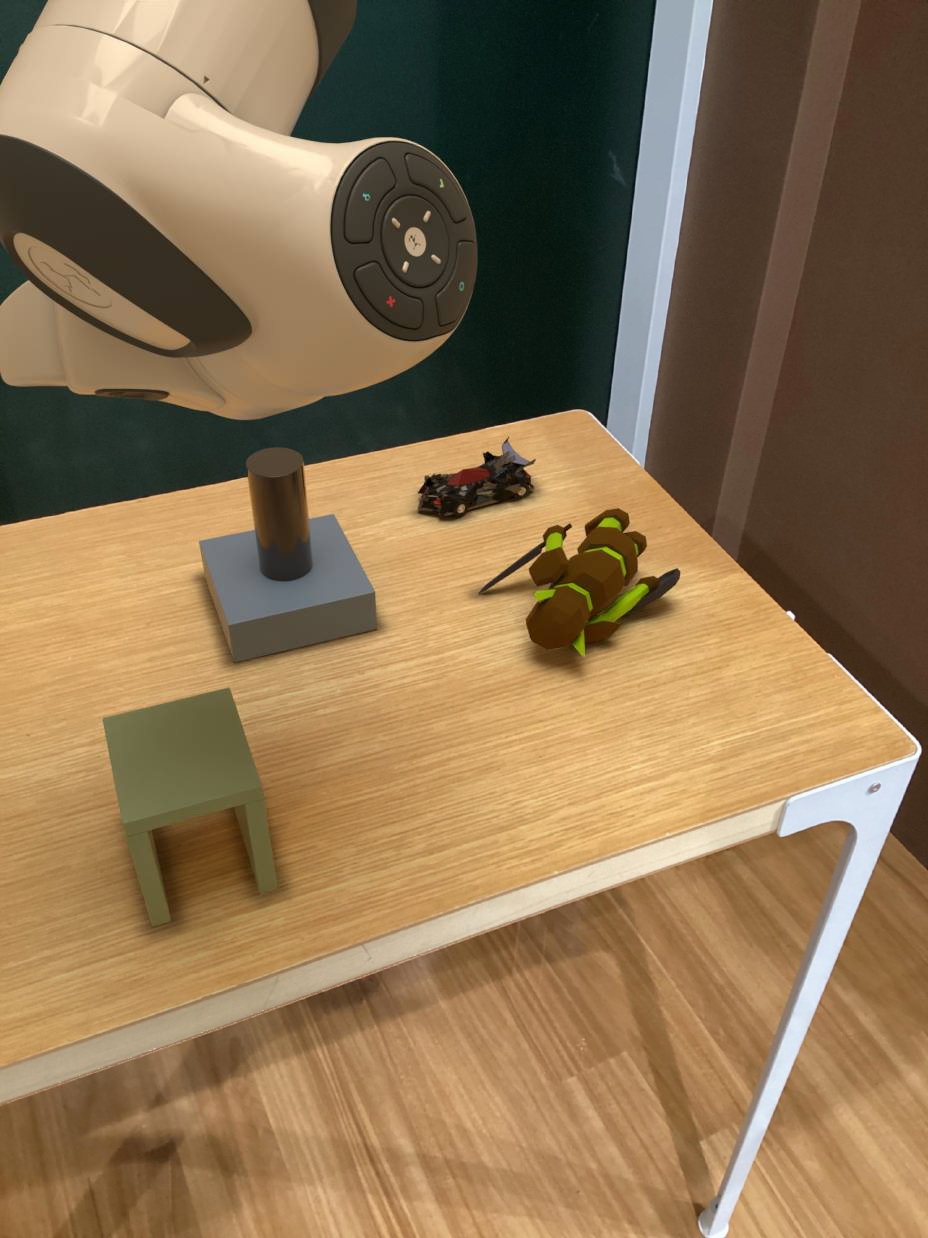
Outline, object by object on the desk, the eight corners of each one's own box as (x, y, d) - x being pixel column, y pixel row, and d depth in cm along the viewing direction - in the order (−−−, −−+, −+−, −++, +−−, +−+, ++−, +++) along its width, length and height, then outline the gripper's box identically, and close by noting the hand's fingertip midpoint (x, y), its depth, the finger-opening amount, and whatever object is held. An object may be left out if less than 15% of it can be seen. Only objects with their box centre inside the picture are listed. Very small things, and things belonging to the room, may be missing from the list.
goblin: (498, 546, 98) (437, 629, 87) (618, 469, 90) (569, 549, 78) (566, 630, 101) (515, 722, 89) (689, 562, 92) (651, 654, 80)
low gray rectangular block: (234, 663, 85) (227, 624, 83) (204, 577, 94) (198, 540, 91) (377, 629, 89) (375, 591, 86) (336, 549, 97) (333, 513, 95)
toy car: (540, 496, 105) (543, 460, 102) (432, 529, 100) (432, 492, 98) (508, 467, 109) (510, 432, 106) (403, 497, 104) (402, 461, 102)
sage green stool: (152, 927, 66) (122, 823, 60) (131, 821, 73) (101, 717, 66) (278, 889, 69) (262, 785, 62) (247, 790, 75) (229, 686, 69)
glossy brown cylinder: (266, 586, 87) (253, 481, 80) (254, 556, 90) (240, 452, 83) (319, 574, 88) (309, 470, 82) (305, 545, 91) (295, 442, 85)
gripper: (428, 271, 57) (317, 321, 69) (22, 240, 46) (-28, 305, 58) (437, 391, 58) (325, 420, 69) (38, 389, 47) (-15, 424, 58)
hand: (162, 368), depth 63 cm, fingers open, 8 cm apart
